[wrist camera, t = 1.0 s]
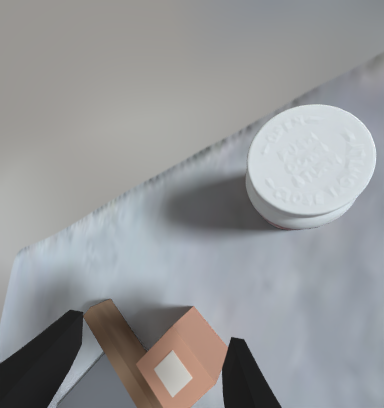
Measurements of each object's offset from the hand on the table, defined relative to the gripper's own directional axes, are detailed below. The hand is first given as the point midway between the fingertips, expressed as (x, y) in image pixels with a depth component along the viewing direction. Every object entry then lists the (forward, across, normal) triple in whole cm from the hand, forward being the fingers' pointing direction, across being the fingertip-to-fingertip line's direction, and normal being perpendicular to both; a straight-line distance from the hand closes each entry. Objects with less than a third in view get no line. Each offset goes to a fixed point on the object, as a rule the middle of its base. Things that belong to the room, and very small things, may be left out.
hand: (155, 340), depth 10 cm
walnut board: (+8, -1, +15) cm, 17 cm away
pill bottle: (+12, -10, -6) cm, 16 cm away
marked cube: (+9, -4, +10) cm, 14 cm away
